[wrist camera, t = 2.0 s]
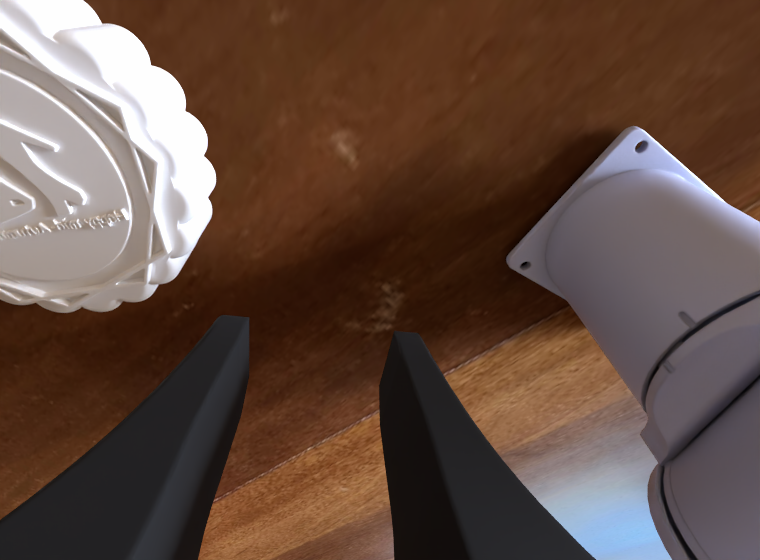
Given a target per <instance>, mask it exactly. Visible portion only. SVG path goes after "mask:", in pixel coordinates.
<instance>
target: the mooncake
mask: <svg viewBox="0 0 760 560" xmlns="http://www.w3.org/2000/svg"><path fill="white" fill-rule="evenodd" d="M185 106H186V101H185V96H184V92H183V90H182V88H181V86H180V85H179V83H178V82H177V81H176V79H175V78H174V77H173V76H172V75H170V74H169V73H168V72H166V71H165V70H163V69H161V68H158V67H155V66H151V64H150V59H149V56H148V53H147V51H146V49H145V48H144V46H143V44H142V43H141V42H140V41H139V39H138V38H137V37H136V36H135V35H133V34H132V33H131V32H129V31H128V30H126V29H124V28H123V27H120V26H117V25H113V24H102V23H101V21H100V19H99V18H98V16H97V14H96V13H95V12H94V10H93V9H92V8H91V7H90V6H89V5H88V4H87V3H86V2H84V1H83V0H0V299H1V300H3V301H5V302H8V303H11V304H15V305H29V304H33V303H37V304H39V305H40V306H42V307H43V308H45V309H47V310H50V311H54V312H59V313H69V312H73V311H76V310H78V309H80V308H81V307H83V308H86V309H88V310H91V311H96V312H107V311H111V310H113V309H115V308H117V307H118V306H119V305H120V304H121V303H122V302H123V301H126V302H140V301H143V300H146V299H147V298H149V297H150V296H151V295H152V294H153V293H154V291H155V290H156V288H157V287H158V285H159V284H165V283H168V282H170V281H172V280H173V279H174V278H175V277H176V276H177V275H178V274H179V272H180V270H181V269H182V267H183V265H184V264H185V262H186V260H187V259H188V257H189V255H190V254H191V252H192V250H193V249H194V247H195V245H196V244H197V241H198V239H199V237H200V236H201V234H202V232H203V231H204V229H205V227H206V226H207V224H208V222H209V221H210V219H211V216H212V206H211V203H210V201H209V199H208V196H209V195H210V193H211V192H212V190H213V189H214V187H215V183H216V175H215V171H214V168H213V167H212V165H211V163H210V162H209V161H208V160H207V159H206V158H205V157H204V156H203V155H204V154H205V152H206V149H207V135H206V132H205V130H204V128H203V126H202V125H201V123H200V122H199V121H198V120H197V119H196V118H195V117H194V116H192V115H191V114H189V113H187V112H186V111H185Z"/></svg>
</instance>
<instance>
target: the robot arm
mask: <svg viewBox="0 0 760 560" xmlns="http://www.w3.org/2000/svg"><path fill="white" fill-rule="evenodd" d="M640 141H642V145H641V146H640V147H639V148H638V149H637V150H635V146H636V145H637V143H639V142H640ZM506 262H507V264H508V266H509V267H510V268H511V269H513V270H515V271H516V272H518V273H520V274H522V275H523V276H525V277H527V278H529V279H530V280H532V281H534V282H536V283H537V284H539V285H541V286H543V287H544V288H546V289H548V290H550V291H551V292H553V293H555V294H556V295H558V296H560V297H562V298H563V299H565V300H567V301H568V303H569V304H570V305H571V307H572V308H573V310H574V311H575V313H576V314H577V315H578V317H579V318H580V320H581V321H582V322H583V324H584V325H585V327H586V328H587V330H588V331H589V332H590V334H591V335H592V337H593V338H594V340H595V341H596V342H597V344H598V345H599V347H600V348H601V350H602V351H603V352H604V354H605V355H606V357H607V358H608V359H609V361H610V362H611V364H612V365H613V367H614V368H615V369H616V371H617V372H618V374H619V375H620V377H621V378H622V379H623V381H624V382H625V384H626V385H627V387H628V388H629V389H630V391H631V392H632V394H633V395H634V396H635V398H636V399H637V401H638V402H639V404H640V405H641V406H642V408H643V409H644V411H645V412H646V413H647V416H648V422H647V424H646V426H645V428H644V429H643V430H642V432H641V434H640V435H641V437H642V438H643V440H644V441H645V443H646V445H647V446H648V448H649V449H650V451H651V452H652V454H653V455H654V457H655V458H656V460H657V461H658V464H657V465H656V466H655V468H654V470H653V471H652V473H651V475H650V479H649V483H648V503H649V508H650V513H651V516H652V519H653V522H654V525H655V527H656V530H657V532H658V534H659V536H660V538H661V540H662V542H663V544H664V547H665V548H666V550H667V552H668V553H669V555H670V557H671V558H672V560H760V222H759V221H757V220H755V219H753V218H752V217H750V216H748V215H746V214H744V213H743V212H741V211H739V210H737V209H736V208H734V207H732V206H730V205H728V204H727V203H726V202H725V201H723V200H722V199H721V198H720V197H719V196H718V195H717V194H716V193H714V192H713V191H712V190H711V189H710V188H709V187H708V186H706V185H705V184H704V183H703V182H702V181H701V180H700V179H699V178H697V177H696V176H695V175H694V174H693V173H692V172H691V171H689V170H688V169H687V168H686V167H685V166H684V165H683V164H681V163H680V162H679V161H678V160H677V159H676V158H675V157H674V156H672V155H671V154H670V153H669V152H668V151H667V150H666V149H664V148H663V147H662V146H661V145H660V144H659V143H658V142H656V141H655V140H654V139H653V138H652V137H651V136H650V135H649V134H647V133H646V132H645V131H644V130H642V129H640V128H638V127H636V126H631V127H628V128H626V129H625V130H624V131H622V132H621V134H620V135H619V136H618V137H617V138H616V139H615V140H614V141H613V142H612V143H611V144H610V145H609V146H608V147H607V149H606V150H605V151H604V152H603V153H602V154H601V155H600V156H599V157H598V158H597V159H596V160H595V161H594V163H593V164H592V165H591V166H590V167H589V168H588V169H587V170H586V171H585V172H584V173H583V174H582V175H581V177H580V178H579V179H578V180H577V181H576V182H575V183H574V184H573V185H572V186H571V187H570V188H569V189H568V191H567V192H566V193H565V194H564V195H563V196H562V197H561V198H560V199H559V200H558V201H557V202H556V203H555V205H554V206H553V207H552V208H551V209H550V210H549V211H548V212H547V213H546V214H545V215H544V216H543V217H542V219H541V220H540V221H539V222H538V223H537V224H536V225H535V226H534V227H533V228H532V229H531V230H530V231H529V233H528V234H527V235H526V236H525V237H524V238H523V239H522V240H521V241H520V242H519V243H518V244H517V245H516V247H515V248H514V249H513V250H512V251H511V252H510V253H509V254H508V256H507V258H506ZM523 262H527V264H526V265H524V266H520V265H521V264H522V263H523ZM248 379H249V317H239V316H228V315H221V316H220V317H218V318H217V319H216V321H215V322H214V323H213V324H212V326H211V327H210V328H209V330H208V331H207V332H206V333H205V334H204V336H203V337H202V338H201V339H200V341H199V342H198V343H197V344H196V345H195V346H194V348H193V349H192V350H191V351H190V352H189V353H188V354H187V356H186V357H185V358H184V359H183V360H182V361H181V362H180V363H179V364H178V365H177V366H176V368H175V369H174V370H173V371H172V372H171V373H170V374H169V375H168V376H167V377H166V378H165V379H164V380H163V382H162V383H161V384H160V385H159V386H158V387H157V388H156V389H155V390H154V391H153V392H152V393H151V394H150V395H149V396H148V397H147V398H145V399H144V400H143V401H142V402H141V403H140V404H139V405H138V406H137V407H136V408H135V409H134V410H133V411H132V412H131V413H130V414H129V415H128V416H127V417H126V418H125V419H124V420H123V421H122V422H121V423H119V424H118V425H117V426H116V427H115V428H114V429H113V430H112V431H111V432H109V433H108V434H107V435H106V436H105V437H104V438H103V439H102V440H100V441H99V442H98V443H97V444H96V445H95V446H93V447H92V448H91V449H90V450H89V451H88V452H86V453H85V454H84V455H83V456H82V457H80V458H79V459H78V460H77V461H76V462H75V463H73V464H72V465H71V466H70V467H68V468H67V469H66V470H65V471H63V472H62V473H61V474H60V475H58V476H57V477H56V478H54V479H53V480H52V481H51V482H49V483H48V484H47V485H46V486H44V487H43V488H42V489H41V490H39V491H38V492H37V493H36V494H34V495H33V496H32V497H30V498H29V499H28V500H26V501H25V502H24V503H22V504H21V505H20V506H18V507H17V508H16V509H15V510H13V511H12V512H10V513H9V514H8V515H6V516H5V517H4V518H2V519H1V520H0V560H198V556H199V552H200V548H201V543H202V539H203V535H204V531H205V527H206V524H207V520H208V517H209V513H210V510H211V507H212V504H213V501H214V498H215V494H216V491H217V488H218V485H219V482H220V479H221V476H222V473H223V470H224V467H225V464H226V461H227V458H228V454H229V451H230V448H231V445H232V442H233V439H234V436H235V433H236V430H237V427H238V423H239V420H240V417H241V413H242V408H243V403H244V399H245V394H246V389H247V384H248ZM379 400H380V428H381V437H382V445H383V453H384V460H385V468H386V476H387V483H388V491H389V499H390V506H391V514H392V525H393V536H394V560H596V559H595V558H594V557H593V556H591V555H590V554H589V553H588V552H587V551H586V550H585V549H584V548H583V547H582V546H581V545H580V544H579V543H578V542H577V541H576V540H575V539H574V538H573V537H572V536H571V535H570V534H569V533H568V532H567V531H566V530H565V529H564V528H563V526H562V525H561V524H560V523H559V522H558V521H557V520H556V519H555V518H554V517H553V516H552V515H551V514H550V513H549V512H548V511H547V510H546V509H545V508H544V507H543V506H542V505H541V504H540V503H539V502H538V501H537V499H536V498H535V497H534V496H533V495H532V494H531V493H530V492H529V490H528V489H527V488H526V487H525V486H524V485H523V484H522V483H521V481H520V480H519V479H518V478H517V477H516V475H515V474H514V473H513V472H512V471H511V469H510V468H509V467H508V466H507V465H506V464H505V462H504V461H503V460H502V459H501V457H500V456H499V455H498V454H497V452H496V451H495V450H494V448H493V447H492V446H491V444H490V443H489V442H488V441H487V439H486V438H485V436H484V435H483V434H482V432H481V431H480V430H479V428H478V427H477V425H476V424H475V423H474V421H473V420H472V418H471V417H470V416H469V414H468V413H467V411H466V410H465V408H464V407H463V405H462V404H461V402H460V401H459V399H458V398H457V396H456V395H455V393H454V392H453V390H452V389H451V387H450V385H449V384H448V382H447V381H446V379H445V377H444V376H443V374H442V372H441V371H440V369H439V367H438V366H437V364H436V362H435V361H434V359H433V357H432V356H431V354H430V352H429V350H428V349H427V347H426V345H425V343H424V342H423V340H422V338H421V336H420V335H419V334H418V333H410V332H399V331H394V334H393V338H392V341H391V345H390V349H389V352H388V356H387V360H386V363H385V367H384V370H383V374H382V378H381V381H380V385H379Z"/></svg>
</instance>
